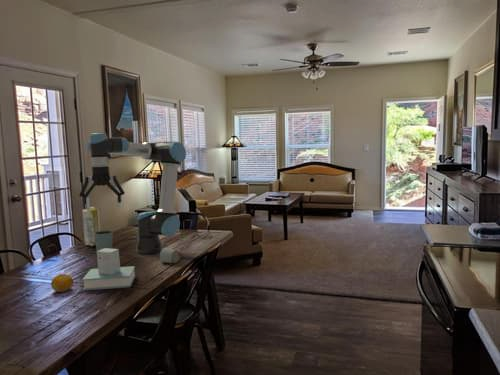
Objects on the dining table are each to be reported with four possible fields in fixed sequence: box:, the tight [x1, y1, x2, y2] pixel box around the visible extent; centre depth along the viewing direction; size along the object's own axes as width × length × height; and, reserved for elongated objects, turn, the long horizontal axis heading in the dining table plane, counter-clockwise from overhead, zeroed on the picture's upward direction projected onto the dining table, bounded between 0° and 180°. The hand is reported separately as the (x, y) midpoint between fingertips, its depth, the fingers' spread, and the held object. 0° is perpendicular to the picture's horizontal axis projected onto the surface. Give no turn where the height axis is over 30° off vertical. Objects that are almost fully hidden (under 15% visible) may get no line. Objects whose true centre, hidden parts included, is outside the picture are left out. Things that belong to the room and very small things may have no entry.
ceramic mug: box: [159, 247, 181, 264], centre depth 206 cm, size 11×8×8 cm
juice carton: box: [82, 206, 101, 247], centre depth 246 cm, size 9×8×24 cm
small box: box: [96, 248, 121, 275], centre depth 176 cm, size 8×6×10 cm
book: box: [82, 265, 136, 291], centre depth 177 cm, size 14×20×5 cm
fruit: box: [50, 273, 74, 293], centre depth 169 cm, size 8×8×8 cm
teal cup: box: [94, 230, 114, 252], centre depth 228 cm, size 10×10×12 cm
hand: (103, 210), depth 185 cm, fingers open, 13 cm apart
